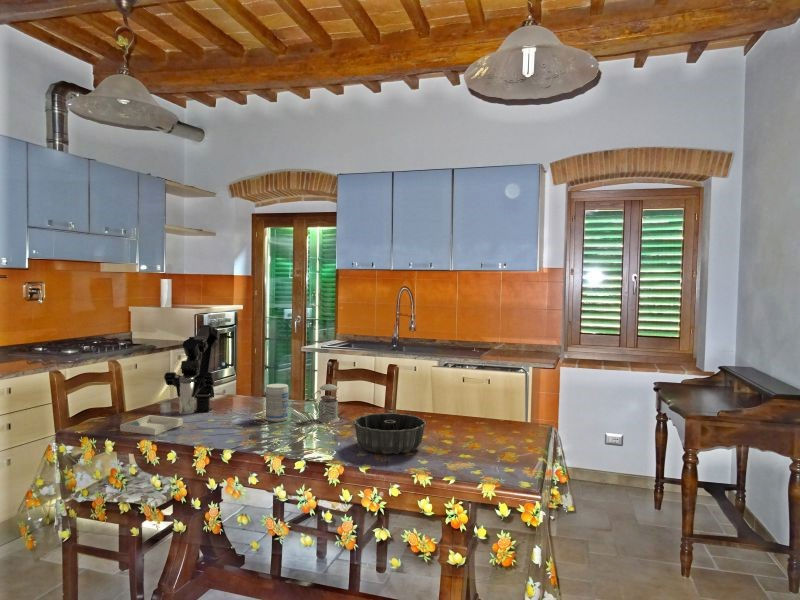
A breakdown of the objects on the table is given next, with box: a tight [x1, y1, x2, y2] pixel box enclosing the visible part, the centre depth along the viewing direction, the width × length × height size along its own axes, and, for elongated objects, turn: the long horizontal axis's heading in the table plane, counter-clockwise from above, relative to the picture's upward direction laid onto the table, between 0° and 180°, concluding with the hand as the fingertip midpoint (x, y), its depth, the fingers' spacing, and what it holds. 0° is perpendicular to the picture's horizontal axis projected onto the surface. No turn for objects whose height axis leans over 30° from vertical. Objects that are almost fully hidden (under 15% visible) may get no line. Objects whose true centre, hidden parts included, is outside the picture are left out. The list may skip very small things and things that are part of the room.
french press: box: [312, 361, 341, 423], centre depth 241 cm, size 10×12×25 cm
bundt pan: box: [353, 412, 427, 455], centre depth 203 cm, size 26×26×10 cm
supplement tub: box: [265, 383, 289, 423], centre depth 239 cm, size 10×10×15 cm
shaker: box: [178, 375, 195, 415], centre depth 222 cm, size 6×6×14 cm
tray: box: [119, 414, 184, 436], centre depth 220 cm, size 16×16×3 cm
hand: (185, 396), depth 221 cm, fingers closed on shaker, 5 cm apart
